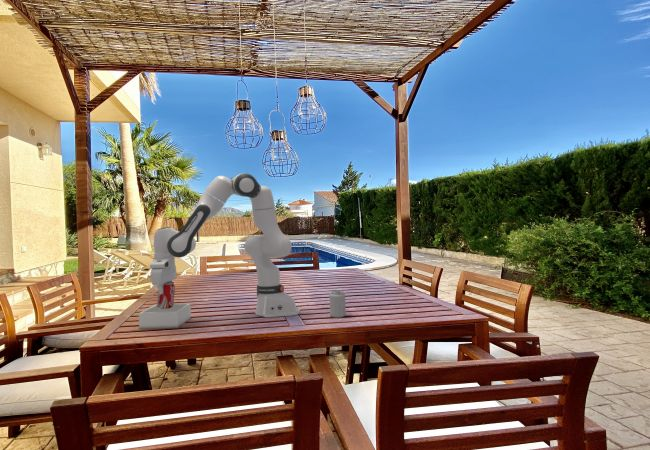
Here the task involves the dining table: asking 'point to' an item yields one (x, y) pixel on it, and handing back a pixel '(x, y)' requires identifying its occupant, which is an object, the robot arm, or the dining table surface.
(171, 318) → the bin
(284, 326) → the dining table surface
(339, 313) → the can
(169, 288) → the soda can
